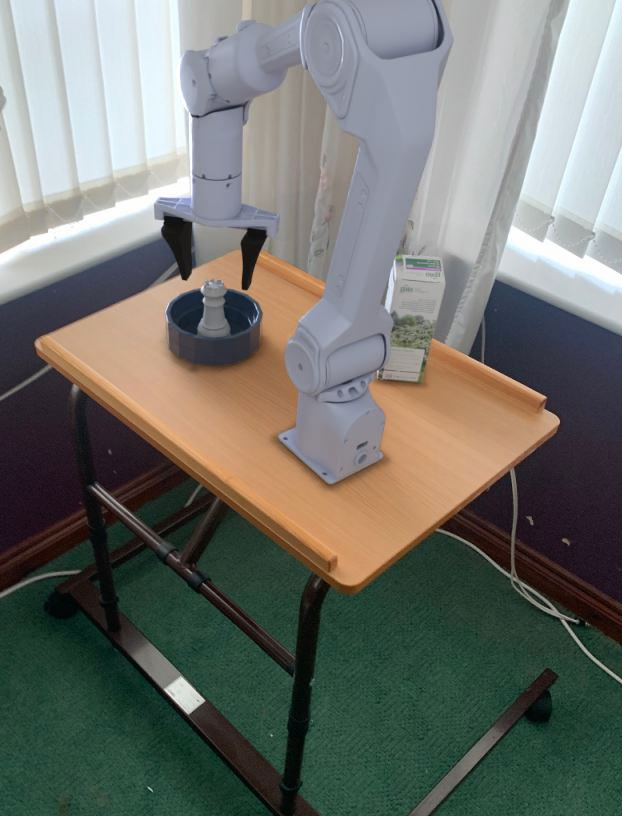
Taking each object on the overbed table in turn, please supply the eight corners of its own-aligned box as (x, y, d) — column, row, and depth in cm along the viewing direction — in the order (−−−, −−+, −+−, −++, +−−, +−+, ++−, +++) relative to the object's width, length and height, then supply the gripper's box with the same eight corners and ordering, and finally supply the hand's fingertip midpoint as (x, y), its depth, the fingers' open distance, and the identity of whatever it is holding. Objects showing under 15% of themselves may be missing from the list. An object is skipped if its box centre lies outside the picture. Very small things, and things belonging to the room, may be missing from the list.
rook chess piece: (214, 324, 106) (214, 270, 100) (238, 338, 103) (239, 283, 98) (189, 338, 103) (188, 282, 98) (213, 352, 101) (213, 296, 95)
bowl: (279, 349, 103) (281, 319, 100) (200, 381, 98) (200, 350, 95) (225, 307, 110) (226, 278, 107) (149, 334, 105) (147, 304, 101)
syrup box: (419, 358, 102) (442, 253, 92) (422, 385, 98) (447, 280, 88) (375, 354, 103) (393, 250, 92) (376, 382, 99) (395, 276, 88)
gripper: (288, 164, 89) (281, 274, 99) (166, 148, 92) (171, 257, 101) (273, 190, 84) (267, 303, 94) (144, 172, 87) (152, 284, 96)
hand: (216, 281), depth 97 cm, fingers open, 7 cm apart
